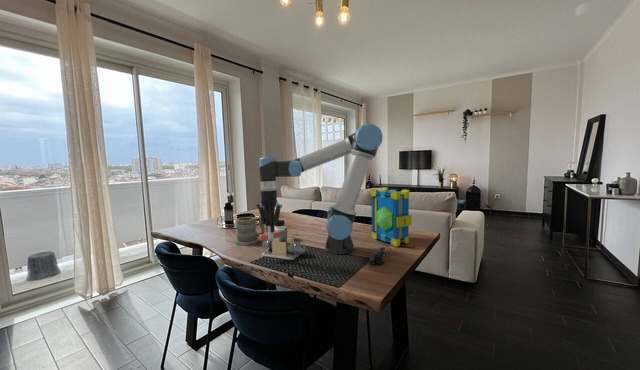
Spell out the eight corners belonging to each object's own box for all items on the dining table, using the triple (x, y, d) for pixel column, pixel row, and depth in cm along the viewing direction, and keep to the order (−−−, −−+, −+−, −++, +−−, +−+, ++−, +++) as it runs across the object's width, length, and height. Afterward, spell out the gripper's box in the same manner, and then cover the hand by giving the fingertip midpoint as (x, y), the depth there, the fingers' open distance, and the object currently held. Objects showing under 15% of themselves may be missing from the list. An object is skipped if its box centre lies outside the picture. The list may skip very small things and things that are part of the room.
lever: (283, 237, 140) (283, 228, 140) (288, 238, 137) (288, 230, 137) (258, 243, 130) (257, 234, 129) (262, 245, 127) (262, 236, 127)
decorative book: (395, 248, 141) (395, 191, 138) (366, 238, 161) (365, 188, 158) (413, 244, 148) (414, 189, 145) (384, 234, 168) (384, 186, 165)
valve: (309, 251, 140) (308, 238, 139) (297, 260, 128) (297, 245, 127) (271, 247, 149) (271, 234, 148) (257, 254, 137) (256, 241, 136)
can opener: (383, 267, 117) (383, 255, 117) (367, 265, 120) (367, 253, 120) (391, 254, 133) (391, 243, 132) (377, 253, 136) (377, 242, 135)
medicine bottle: (283, 241, 159) (283, 221, 158) (272, 240, 160) (271, 221, 159) (287, 238, 166) (286, 218, 165) (276, 237, 167) (275, 218, 166)
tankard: (238, 246, 151) (236, 220, 150) (233, 241, 162) (232, 216, 161) (272, 240, 161) (271, 216, 159) (265, 236, 172) (264, 212, 170)
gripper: (252, 190, 127) (255, 239, 129) (275, 190, 122) (278, 242, 124) (261, 189, 134) (264, 235, 136) (284, 189, 129) (286, 237, 131)
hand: (270, 238), depth 130 cm, fingers closed
